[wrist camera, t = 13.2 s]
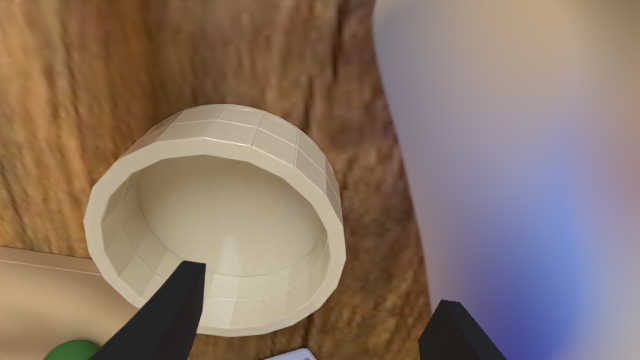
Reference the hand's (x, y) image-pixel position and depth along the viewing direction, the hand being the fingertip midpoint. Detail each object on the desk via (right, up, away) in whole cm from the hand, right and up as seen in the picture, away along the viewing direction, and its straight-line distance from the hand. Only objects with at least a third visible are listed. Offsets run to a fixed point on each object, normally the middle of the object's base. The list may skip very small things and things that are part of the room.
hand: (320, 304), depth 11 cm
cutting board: (-19, -10, +18) cm, 27 cm away
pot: (-5, +2, +11) cm, 12 cm away
